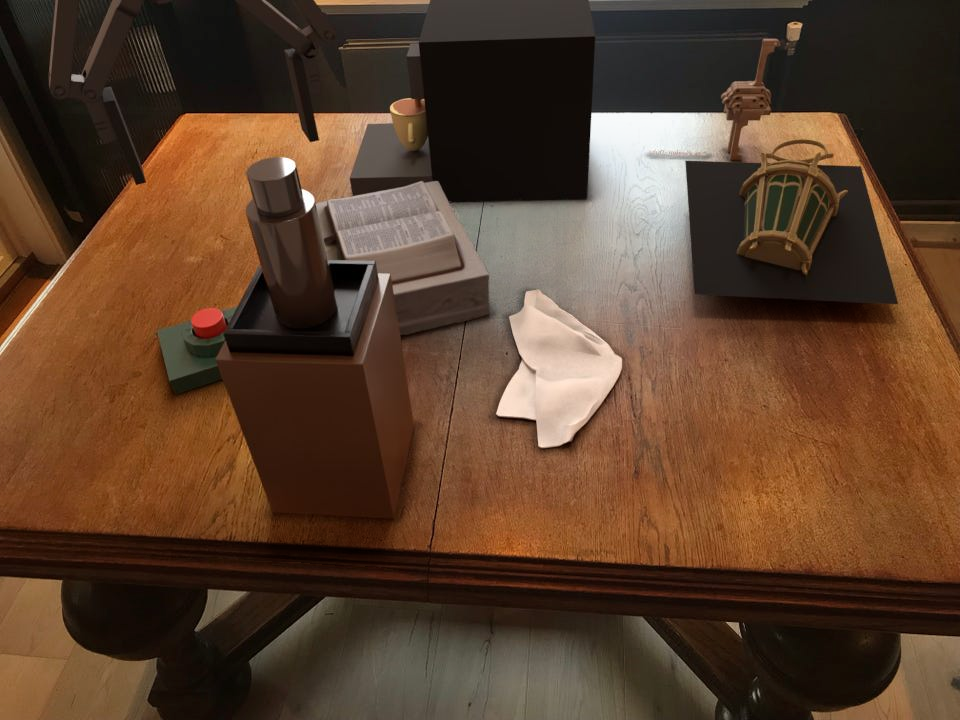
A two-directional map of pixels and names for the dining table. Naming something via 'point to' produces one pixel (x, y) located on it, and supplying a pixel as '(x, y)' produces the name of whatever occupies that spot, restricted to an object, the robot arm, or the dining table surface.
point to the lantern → (785, 231)
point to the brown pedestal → (323, 397)
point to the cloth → (557, 371)
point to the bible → (411, 252)
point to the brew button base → (191, 355)
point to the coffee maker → (490, 105)
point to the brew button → (208, 323)
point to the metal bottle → (290, 244)
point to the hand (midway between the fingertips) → (227, 155)
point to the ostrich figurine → (744, 103)
